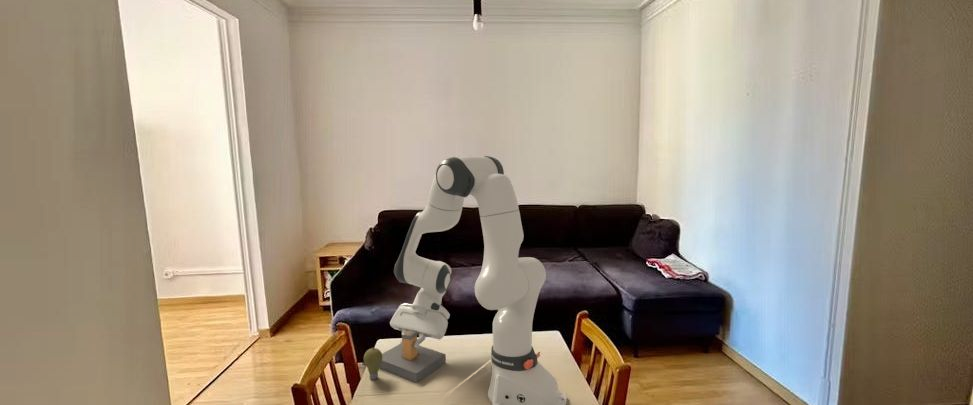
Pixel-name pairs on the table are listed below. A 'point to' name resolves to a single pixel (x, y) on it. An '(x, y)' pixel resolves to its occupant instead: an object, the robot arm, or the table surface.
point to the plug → (409, 344)
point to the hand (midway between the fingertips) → (408, 346)
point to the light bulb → (373, 361)
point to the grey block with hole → (412, 363)
